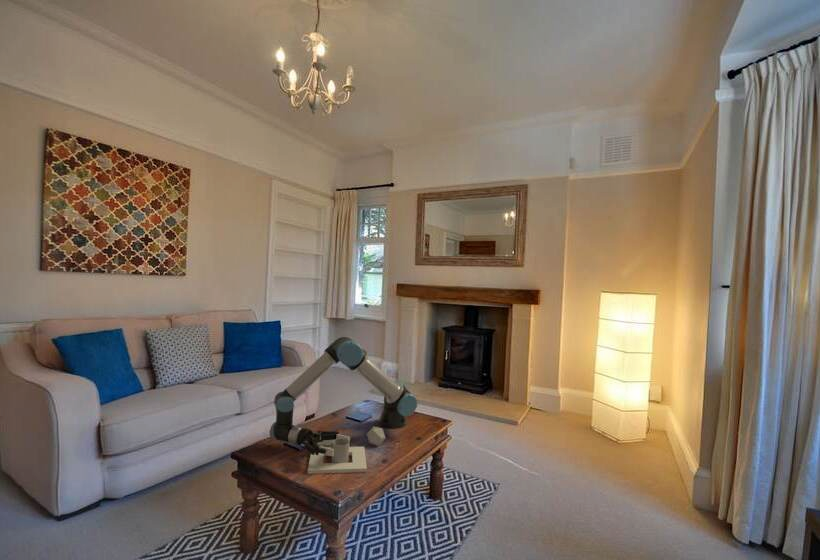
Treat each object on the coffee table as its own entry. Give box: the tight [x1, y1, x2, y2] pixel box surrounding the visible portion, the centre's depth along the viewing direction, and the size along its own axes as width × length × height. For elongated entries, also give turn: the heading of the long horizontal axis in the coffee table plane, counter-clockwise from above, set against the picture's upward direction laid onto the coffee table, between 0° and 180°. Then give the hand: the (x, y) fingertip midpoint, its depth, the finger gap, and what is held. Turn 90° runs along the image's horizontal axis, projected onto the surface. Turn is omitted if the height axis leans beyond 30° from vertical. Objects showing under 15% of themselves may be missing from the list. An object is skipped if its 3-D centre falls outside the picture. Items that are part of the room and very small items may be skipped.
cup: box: [331, 438, 350, 463], centre depth 161 cm, size 7×10×9 cm
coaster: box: [317, 437, 334, 447], centre depth 179 cm, size 12×12×1 cm
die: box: [366, 425, 386, 447], centre depth 180 cm, size 8×9×10 cm
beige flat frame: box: [307, 446, 368, 475], centre depth 161 cm, size 24×20×2 cm
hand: (341, 446), depth 160 cm, fingers open, 13 cm apart
